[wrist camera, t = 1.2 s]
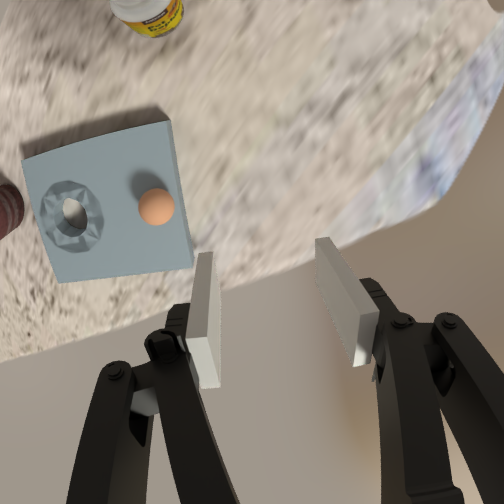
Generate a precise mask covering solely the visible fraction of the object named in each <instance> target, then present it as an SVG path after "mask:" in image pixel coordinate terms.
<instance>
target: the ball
mask: <svg viewBox="0 0 504 504" xmlns="http://www.w3.org/2000/svg"><path fill="white" fill-rule="evenodd" d="M174 209H175V205H174V200H173V198H172V196H171V195H170V194H169V193H168V192H167V191H165V190H163V189H159V188H155V189H151V190H148V191H147V192H145V193H144V194H143V195H142V197H141V198H140V200H139V204H138V211H139V214H140V216H141V218H142V219H143V220H144V221H145V222H146V223H148V224H150V225H162V224H164V223H166V222H167V221H169V220H170V218H171V217H172V215H173V213H174Z"/></svg>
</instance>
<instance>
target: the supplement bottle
mask: <svg viewBox="0 0 504 504" xmlns="http://www.w3.org/2000/svg"><path fill="white" fill-rule="evenodd" d="M109 3H110V8H111V10H112V12H113V13H114V15H115V16H116V17H118V18H119V19H120V20H121V21H123V22H124V23H125V24H127V25H128V26H129V27H131V28H132V29H133V30H134V31H136V32H137V33H138V34H140V35H142V36H144V37H147V38H159V37H163V36H166V35H168V34H170V33H171V32H173V31H174V30H175V29H176V28H177V27H178V26H179V24H180V23H181V21H182V18H183V15H184V8H183V4H182V2H181V0H109Z"/></svg>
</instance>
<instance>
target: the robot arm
mask: <svg viewBox="0 0 504 504" xmlns="http://www.w3.org/2000/svg"><path fill="white" fill-rule="evenodd" d="M315 261H316V285H317V287H318V289H319V291H320V294H321V296H322V298H323V300H324V302H325V305H326V307H327V309H328V311H329V313H330V315H331V318H332V320H333V322H334V324H335V327H336V329H337V331H338V334H339V336H340V338H341V340H342V343H343V345H344V347H345V350H346V352H347V354H348V357H349V359H350V361H351V364H352V366H353V367H356V366H360V365H365V364H369V363H370V361H371V356H372V354H373V356H374V358H375V360H376V364H375V368H374V372H373V377H372V382H374V380H375V379H376V389H377V400H378V413H379V428H380V448H381V504H465V503H464V497H463V493H462V491H461V489H460V488H457V487H455V486H454V485H453V482H452V476H451V468H450V461H449V455H448V449H447V442H446V437H445V432H444V426H443V421H442V417H441V413H440V409H441V411H442V413H443V415H444V417H445V419H446V421H447V423H448V425H449V427H450V429H451V431H452V433H453V435H454V437H455V439H456V441H457V443H458V446H459V448H460V450H461V452H462V454H463V456H464V459H465V461H466V463H467V465H468V467H469V470H470V472H471V474H472V477H473V479H474V481H475V484H476V486H477V488H478V491H479V493H480V496H481V498H482V501H483V503H484V504H504V374H503V372H502V371H501V370H500V368H499V367H498V365H497V364H496V363H495V361H494V360H493V358H492V357H491V356H490V354H489V353H488V352H487V351H486V349H485V348H484V347H483V346H482V344H481V343H480V341H479V340H478V339H477V338H476V336H475V335H474V334H473V332H472V331H471V330H470V329H469V327H468V326H467V325H466V324H465V322H464V321H463V320H462V319H461V318H460V317H459V316H457V315H455V314H453V313H448V312H447V313H446V312H445V313H440V314H438V315H437V316H436V317H435V319H434V323H418V322H416V321H415V319H414V318H413V317H412V316H410V315H408V314H406V313H402V312H399V311H398V309H397V308H396V306H395V305H394V304H393V302H392V301H391V299H390V298H389V297H388V296H387V294H386V293H385V291H384V290H383V289H382V287H381V286H380V284H379V283H378V282H376V281H375V280H373V279H371V278H364V279H358V278H357V276H356V275H355V274H354V272H353V270H352V269H351V268H350V266H349V265H348V263H347V262H346V260H345V259H344V258H343V256H342V255H341V253H340V252H339V250H338V249H337V248H336V246H335V245H334V243H333V242H332V241H331V239H330V238H329V237H325V238H317V239H315ZM144 346H145V348H146V351H147V353H148V355H149V357H150V360H151V361H149V362H147V363H145V364H142V365H139V366H135V367H132V368H131V366H130V364H129V363H127V362H125V361H114V362H111V363H109V364H107V365H106V366H105V367H104V368H102V370H101V372H100V374H99V377H98V380H97V383H96V386H95V390H94V393H93V396H92V400H91V403H90V406H89V410H88V413H87V417H86V420H85V424H84V428H83V431H82V435H81V439H80V443H79V447H78V451H77V455H76V459H75V464H74V467H73V472H72V476H71V481H70V486H69V491H68V496H67V501H66V504H146V491H147V479H148V467H149V456H150V445H151V437H152V428H153V420H154V414H158V413H160V418H161V423H162V427H163V433H164V438H165V443H166V447H167V452H168V456H169V460H170V464H171V468H172V472H173V477H174V480H175V484H176V488H177V492H178V495H179V499H180V502H181V504H240V502H239V500H238V497H237V495H236V493H235V490H234V488H233V485H232V483H231V480H230V477H229V475H228V472H227V470H226V467H225V465H224V462H223V459H222V456H221V454H220V451H219V448H218V446H217V443H216V440H215V437H214V434H213V431H212V428H211V426H210V423H209V420H208V417H207V414H206V411H205V408H204V405H203V401H202V398H201V395H200V393H199V382H200V385H201V388H202V389H205V388H217V387H221V384H220V383H221V371H220V370H221V368H220V367H221V365H220V364H221V359H220V357H221V355H220V354H221V351H220V350H221V349H220V348H221V347H220V346H221V292H220V287H219V281H218V276H217V270H216V265H215V259H214V253H213V252H205V253H199V254H198V260H197V266H196V272H195V278H194V284H193V290H192V297H191V303H183V304H174V305H173V307H172V308H171V309H170V310H169V312H168V315H167V321H166V324H165V328H164V329H159V330H156V331H154V332H152V333H151V334H149V335H148V336H147V338H146V339H145V342H144Z"/></svg>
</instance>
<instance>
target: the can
mask: <svg viewBox="0 0 504 504" xmlns="http://www.w3.org/2000/svg"><path fill="white" fill-rule="evenodd" d="M23 216H24V202H23V199H22V197H21V195H20V193H19V192H18V191H17V190H16V189H15V188H14V187H12V186H10V185H4V184H3V185H1V186H0V240H1V239H2V238H4V237H5V236H6V235H7V234H9V233H10V232H11V231H13V230H14V229H15V228H17V227H18V226H19V225H20V224H21V222H22V220H23Z"/></svg>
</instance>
